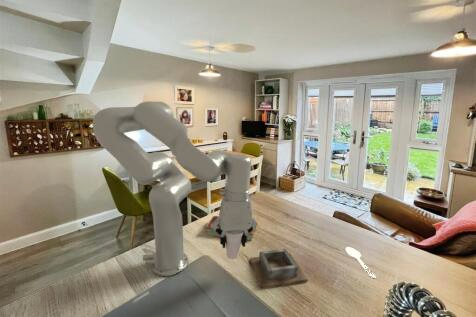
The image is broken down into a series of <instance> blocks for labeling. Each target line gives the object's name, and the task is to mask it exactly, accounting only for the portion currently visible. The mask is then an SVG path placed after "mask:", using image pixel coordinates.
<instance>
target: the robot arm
mask: <svg viewBox="0 0 476 317" xmlns="http://www.w3.org/2000/svg"><path fill="white" fill-rule="evenodd" d="M142 130H144V131H146V132H147V133H148V134H150V135H151V136H153V137H154V138H155V139H157V140H158V141H159V142H161V143H162V144H164V145H165V146H166V147H168V149H169V150H170V152H171V154H172V156H173V157H174V160H175V161H176V162H177V163H176V162H175V161H174V160H173V159H172V157H171V156H169V155H168V154H167V153H165V152H162V151H154V152H151V153H148V152H147V151H146V150H145V149H143V147H141V145H140V144H139V143H138V142H137V141H135V139H133V138H131V137H130V136H128V135H126V133H131V132H137V131H142ZM92 132H93V134H94V137H95V138H96V140H97V142H98V143H99V144H100V146H101V147H102V148H104V149H105V150H106V151H107V152H108V153H109V154H110V155H111V156H112V157H113V158H115V160H116V161H117V162H118V163H119V165H121V167H123V169H124V170H125V171H126V172H127V173H128V174H129V175H130V176H131V177H132V179H133V180H134V181H136V182H137V183H138V184H140V185H142V186H145V185H146V186H147V185H150V184H153V183H155V182H156V181H158V180H159V182H158V183H156V184H155V185H154V186H153V187H152V188H151V190H150V191H149V193H148V201H149V202H148V203H149V205H150V208H151V213H152V220H153V232H154V246H155V247H154V248H155V252H153V253H151V254H143V256H142V261H143V262H144V261H145V265H149V264H151V268H152V272H153V273H155V274H156V275H158V276H160V277H161V276H162V277H170V276H174V274H175V275H177V274H176V273H178V272H179V273H181V272H183V271H184V270H186V268H187V267H188V264H189V256H188V255H187V254H186V253H185V250H184V230H183V228H184V227H183V226H184V225H183V214H182V212H181V208H180V203H181V202H182V201H183V200H184V199H185V198H186V197H187V196H188V195H189V194H190V192H191V190H192V181H191V180H190V178H189V176H188V175H187V174H186V173H185V172H184V171H183V170H185V171H186V172H188V173H189V174H190V175H192V176H193V177H195V178H196V179H197V180H200V181H203V182H206V183H211V182H214V181H216V180H217V179H219V177H221V175H225V180H224V181H225V182H224V189H222V190H220V191H219V195H220V196H222V197H221V202H220V205H219V206H220V207H219V211H218V212H219V213H218V216H219V217H218V218H217V219H216V220H214V221H213V222H212V223H211V228H212V229H214V230H215V231H216V232H217V233H218V234H219V235H220V236H219V238H220V239H219V244H220V245H222V246H221V247H222V249H226V236H225V234H226V231H237V230H243V235H242V238H241V243H240V244H241V246H242V247H243V248H244V247H246V244H247V241H248V240H247V236H248V235H249V233H250V232H251V231H252V230H253V228H255V227H256V228H257V226H258V225H259V224H258V222H257V220H256V219H254V217H253V206H252V198H251V197H250V193H249V192H250V182H251V169H252V158H251V157H250V156H249V155H246V154H242V153H241V154H240V153H230V152H227V151H223V150H212V151H211V152H210V151H209V153H207V154H206V153H204V152H203V151H202V150H200V149H199V148H197V146H196V145H195V144H193V143H192V141H191V140H190V138H189V135H188V132H189V131H188V127H187V126H186V125H185V123H182V122H181V121H179V120H178V119H177V118H175V117H174V111H173V109H172V108H171V107H170V105H168V104H167V103H165V102H163V101H150V100H149V101H142V102H140V103H138V104H137V105H136V106H125V107H124V106H117V107H115V106H112V107H106V108H103V109H100V110H99V111H97V113H95V115H94V116H93V119H92ZM178 164H179V165H178ZM179 166H180V167H179ZM182 169H183V170H182ZM219 223H220V228H219V227H218V226H217V225H218V224H219ZM256 228H255V229H256ZM183 269H184V270H183ZM182 270H183V271H182ZM180 271H181V272H180ZM179 273H178V274H179Z"/></svg>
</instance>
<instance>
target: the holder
mask: <svg viewBox="0 0 476 317" xmlns="http://www.w3.org/2000/svg"><path fill="white" fill-rule="evenodd" d="M249 262H250V263H251V266H252V269H253V271H254V274H255V276H256V278H257V281H258V283H259V286H260V289H268V288H275V287H281V286H286V285H293V284H302V283H306V282H308V281H309V280H308V278H307V276H306V274H305V273H304V271H303V270H302V269H301V267H300V266H299V264H298V263H297V261H296V260H295V257H293V255H292V254H291V252H288V250H287V249H286V248H281V249H274V250H265V251H259V256H253V257H250V258H249Z"/></svg>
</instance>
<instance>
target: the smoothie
mask: <svg viewBox="0 0 476 317" xmlns="http://www.w3.org/2000/svg"><path fill="white" fill-rule="evenodd" d="M242 235H243V230H237V231H226V234H225V236H226V244H225V250H226V257H227V258H228V259H230V260H235V259H237V258H238V257H239V252H240V248H241V247H240V246H241V244H242V243H241V238H242Z"/></svg>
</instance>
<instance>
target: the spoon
mask: <svg viewBox="0 0 476 317" xmlns="http://www.w3.org/2000/svg"><path fill="white" fill-rule="evenodd" d="M344 250H345V253H346V254H347V256H350V257H351V258H354V259H356V260H357V262H358V263H359V264H360V266H361V267H362V269H363V270H364V271H365V272H366V271H367V270H365V269H367V268H369V267H368V266H367V264H365V262H364V261H363V260H362V259H361V258H362V254H361V252H360V251H358V250H357V249H356V248H354V247H352V246H346V247H345V249H344ZM364 264H365V265H364ZM365 267H366V268H365ZM370 270H371V269H370ZM370 270H369V272H370ZM367 272H368V271H367ZM369 272H368V273H366V274H367V275H368V274H369ZM373 273H374V272H373ZM373 273H372V274H373ZM372 274H371V273H370V274H369V275H368V277H369V276H372V277H373V278H374V277H375V279H377V275H376V274H375V273H374V274H373V275H372ZM372 277H370V279H373V278H372Z"/></svg>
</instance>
